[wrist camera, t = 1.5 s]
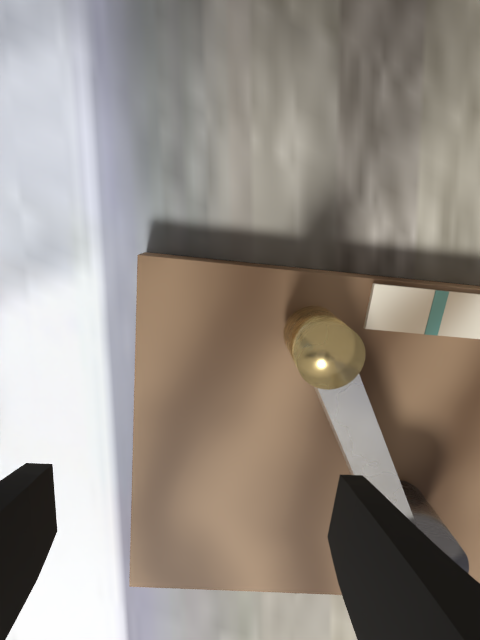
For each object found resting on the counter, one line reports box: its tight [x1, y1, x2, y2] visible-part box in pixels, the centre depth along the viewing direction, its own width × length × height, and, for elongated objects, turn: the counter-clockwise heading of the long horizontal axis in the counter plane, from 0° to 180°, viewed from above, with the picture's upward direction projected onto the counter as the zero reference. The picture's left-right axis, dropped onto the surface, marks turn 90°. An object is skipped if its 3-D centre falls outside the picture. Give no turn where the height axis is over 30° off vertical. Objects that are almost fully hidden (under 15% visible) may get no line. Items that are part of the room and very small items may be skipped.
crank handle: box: [283, 306, 469, 573], centre depth 15 cm, size 18×4×4 cm, turn 24°
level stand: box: [129, 252, 480, 595], centre depth 18 cm, size 20×18×2 cm
